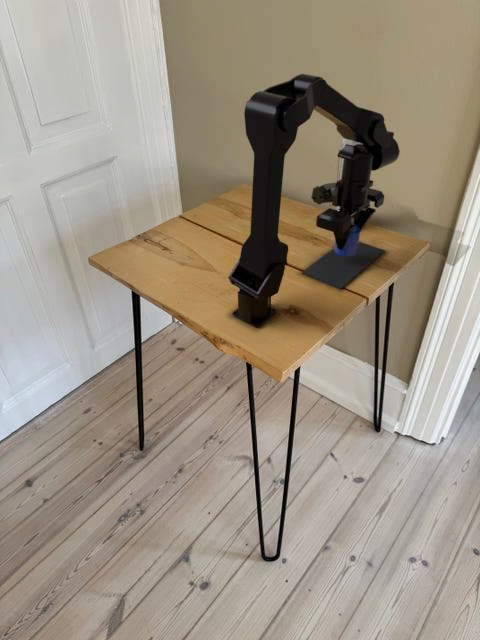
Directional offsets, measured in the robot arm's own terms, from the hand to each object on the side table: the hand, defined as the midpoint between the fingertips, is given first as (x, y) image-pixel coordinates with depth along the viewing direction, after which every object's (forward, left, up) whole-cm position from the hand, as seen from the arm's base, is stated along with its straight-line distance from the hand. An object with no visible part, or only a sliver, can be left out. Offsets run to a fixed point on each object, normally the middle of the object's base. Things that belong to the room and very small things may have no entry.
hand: (346, 244), depth 104 cm
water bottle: (+17, +10, -5) cm, 20 cm away
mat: (0, 0, -5) cm, 5 cm away
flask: (0, 0, -2) cm, 2 cm away
